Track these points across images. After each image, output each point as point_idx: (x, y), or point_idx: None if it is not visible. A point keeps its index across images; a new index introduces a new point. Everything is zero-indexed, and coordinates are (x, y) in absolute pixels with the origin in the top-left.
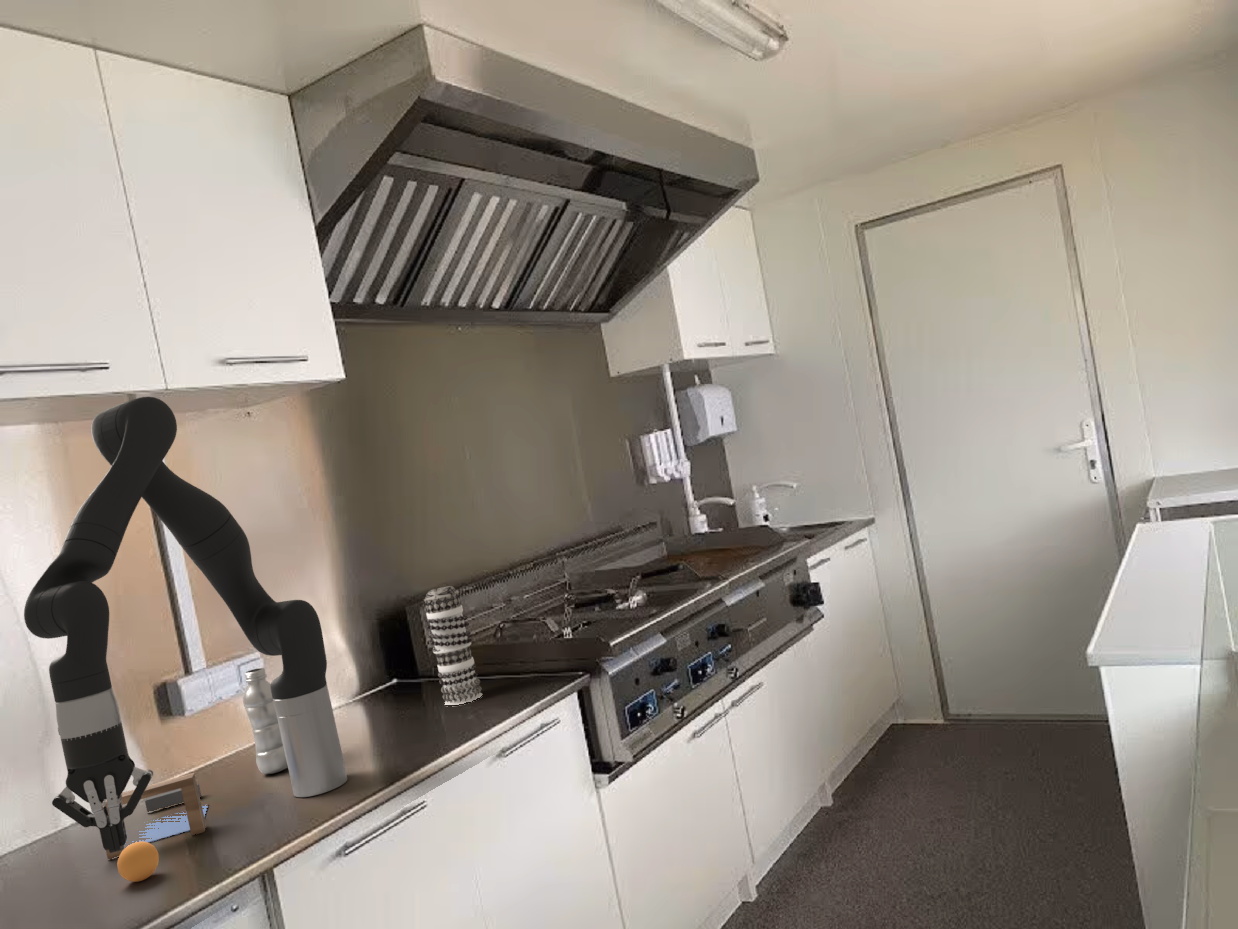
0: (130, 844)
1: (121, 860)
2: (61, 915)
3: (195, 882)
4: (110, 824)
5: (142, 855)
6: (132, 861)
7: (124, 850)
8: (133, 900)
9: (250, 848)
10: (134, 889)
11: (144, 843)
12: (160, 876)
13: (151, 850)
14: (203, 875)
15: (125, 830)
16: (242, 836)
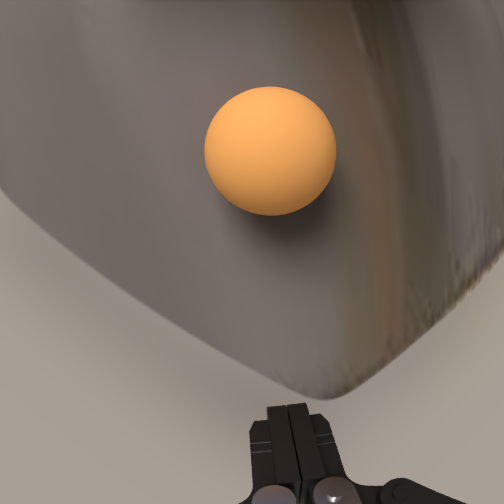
0: (262, 147)
1: (231, 197)
2: (98, 253)
3: (400, 289)
4: (296, 499)
5: (305, 203)
6: (271, 213)
7: (241, 171)
8: (271, 294)
9: (490, 170)
10: None
11: (316, 157)
12: None
13: (330, 173)
14: (415, 259)
15: (335, 447)
16: (468, 62)
